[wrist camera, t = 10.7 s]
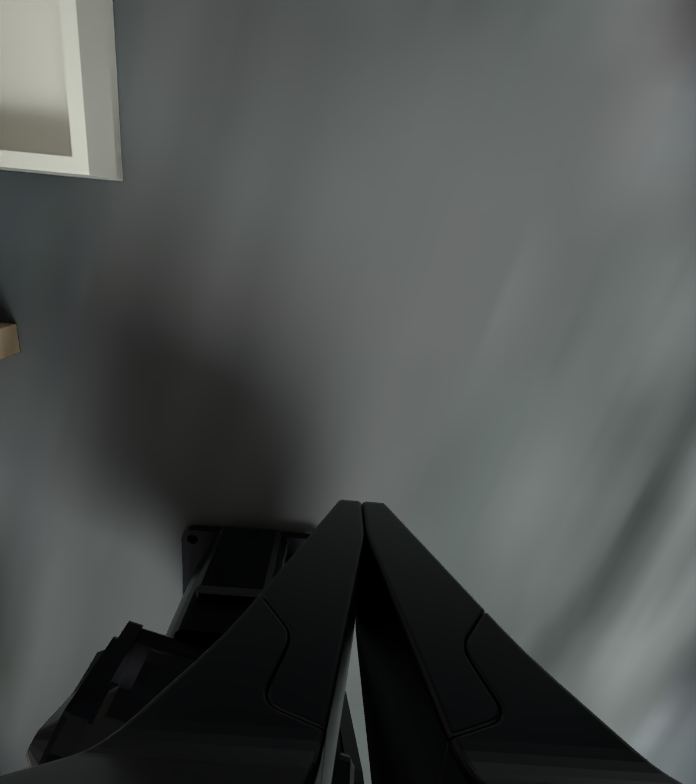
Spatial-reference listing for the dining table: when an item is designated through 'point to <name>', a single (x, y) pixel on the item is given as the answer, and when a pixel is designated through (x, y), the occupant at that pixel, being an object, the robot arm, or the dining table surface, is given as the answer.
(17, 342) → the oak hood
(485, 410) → the dining table surface
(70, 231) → the dining table surface
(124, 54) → the dining table surface
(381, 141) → the dining table surface
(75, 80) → the shell lid
